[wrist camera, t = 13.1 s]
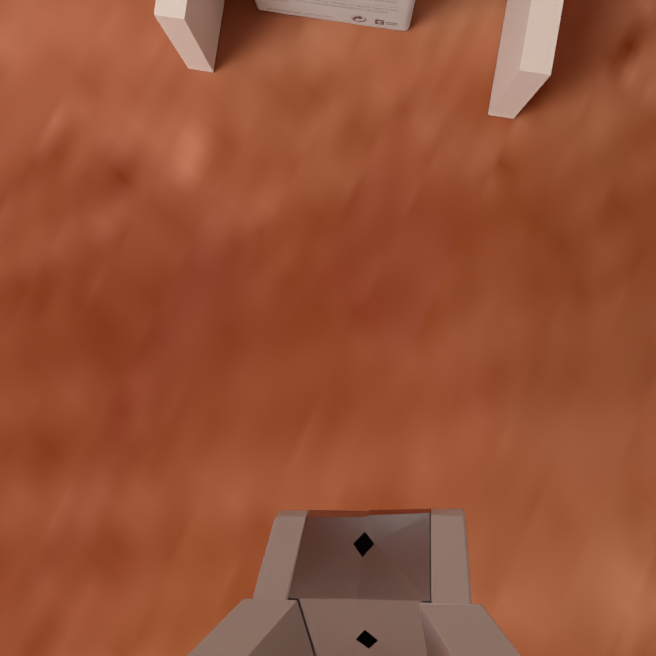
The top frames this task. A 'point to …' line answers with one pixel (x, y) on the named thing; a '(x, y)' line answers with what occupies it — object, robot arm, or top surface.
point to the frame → (512, 63)
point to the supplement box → (347, 11)
